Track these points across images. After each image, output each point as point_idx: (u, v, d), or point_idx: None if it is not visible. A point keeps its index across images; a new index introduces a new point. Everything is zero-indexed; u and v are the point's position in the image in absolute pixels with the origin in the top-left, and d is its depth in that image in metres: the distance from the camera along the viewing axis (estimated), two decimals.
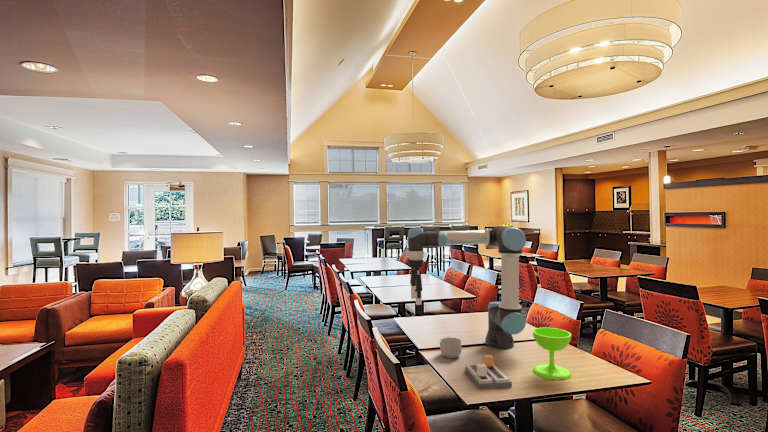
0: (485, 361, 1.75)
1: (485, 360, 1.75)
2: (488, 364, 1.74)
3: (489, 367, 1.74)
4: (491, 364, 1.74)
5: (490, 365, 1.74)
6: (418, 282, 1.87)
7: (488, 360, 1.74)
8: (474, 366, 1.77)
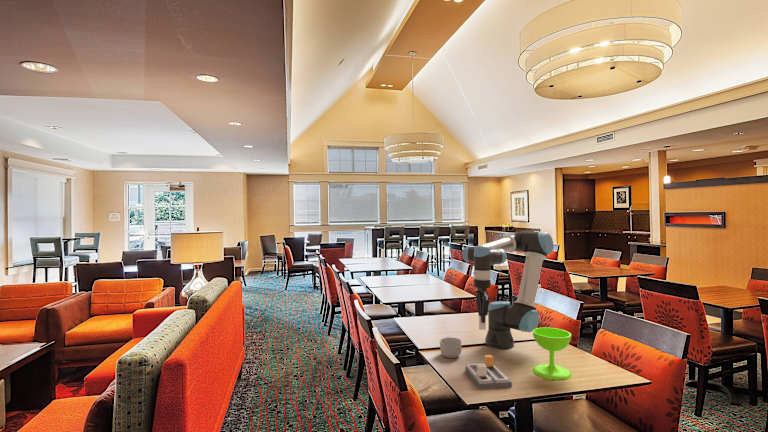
0: (485, 361, 1.75)
1: (485, 360, 1.75)
2: (488, 364, 1.74)
3: (489, 367, 1.74)
4: (491, 364, 1.74)
5: (490, 365, 1.74)
6: (485, 308, 1.79)
7: (488, 360, 1.74)
8: (474, 366, 1.77)
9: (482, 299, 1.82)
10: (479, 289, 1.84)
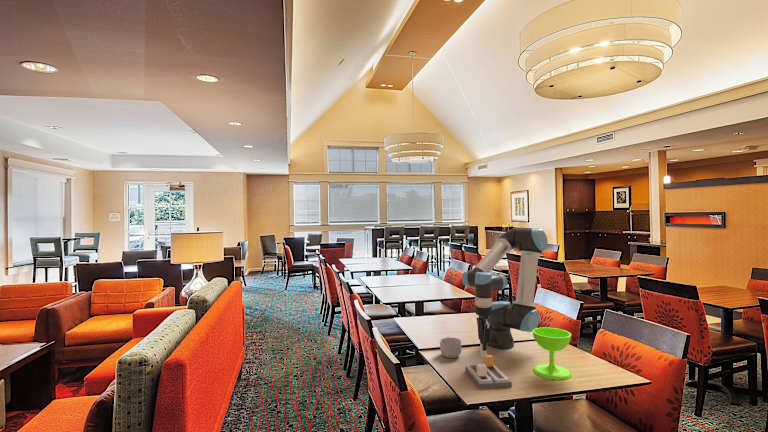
0: (485, 361, 1.75)
1: (485, 360, 1.75)
2: (488, 364, 1.74)
3: (489, 367, 1.74)
4: (491, 364, 1.74)
5: (490, 365, 1.74)
6: (486, 336, 1.77)
7: (488, 360, 1.74)
8: (474, 366, 1.77)
9: (483, 326, 1.80)
10: (480, 316, 1.82)
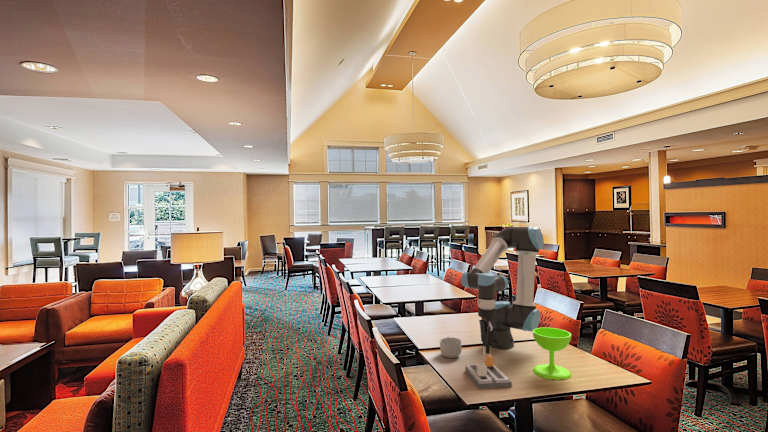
0: (485, 361, 1.75)
1: (485, 360, 1.75)
2: (488, 364, 1.74)
3: (489, 367, 1.74)
4: (491, 364, 1.74)
5: (490, 365, 1.74)
6: (489, 338, 1.73)
7: (488, 360, 1.74)
8: (474, 366, 1.77)
9: (486, 329, 1.76)
10: (483, 318, 1.78)
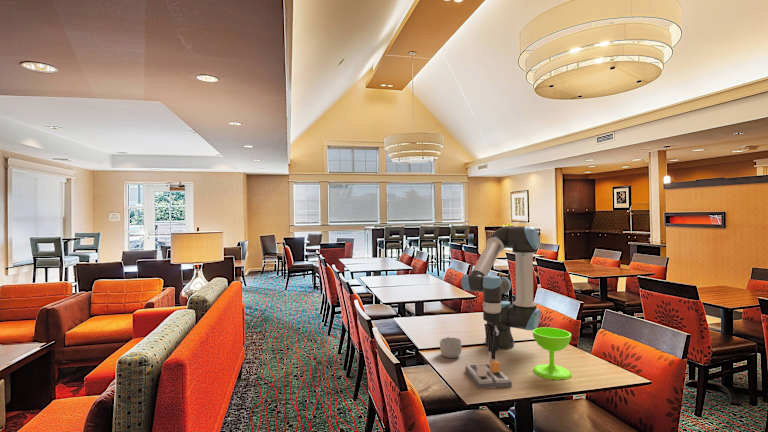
0: (491, 367, 1.68)
1: (491, 365, 1.69)
2: (494, 370, 1.67)
3: (495, 373, 1.67)
4: (497, 370, 1.67)
5: (496, 371, 1.67)
6: (495, 343, 1.66)
7: (494, 366, 1.67)
8: (474, 366, 1.77)
9: (492, 333, 1.70)
10: (489, 322, 1.71)
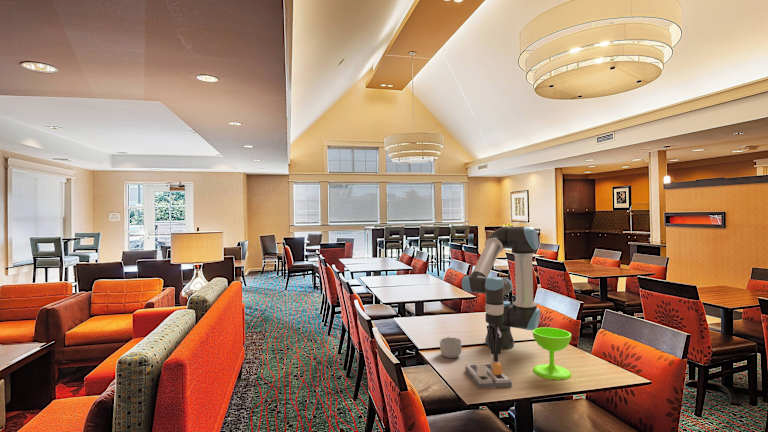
0: (493, 369, 1.66)
1: (493, 367, 1.66)
2: (496, 372, 1.65)
3: (497, 375, 1.65)
4: (499, 372, 1.65)
5: (498, 373, 1.65)
6: (498, 346, 1.64)
7: (496, 368, 1.65)
8: (474, 366, 1.77)
9: None
10: (491, 324, 1.69)
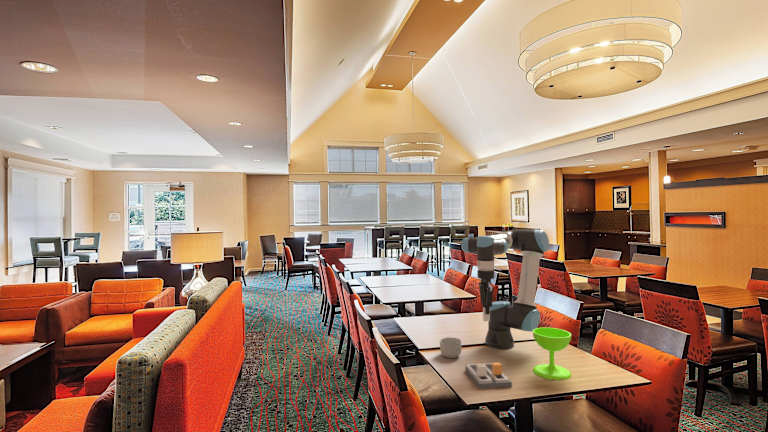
0: (493, 369, 1.66)
1: (493, 367, 1.66)
2: (496, 372, 1.65)
3: (497, 375, 1.65)
4: (499, 372, 1.65)
5: (498, 373, 1.65)
6: (489, 299, 1.75)
7: (496, 368, 1.65)
8: (474, 366, 1.77)
9: (486, 290, 1.78)
10: (483, 280, 1.80)
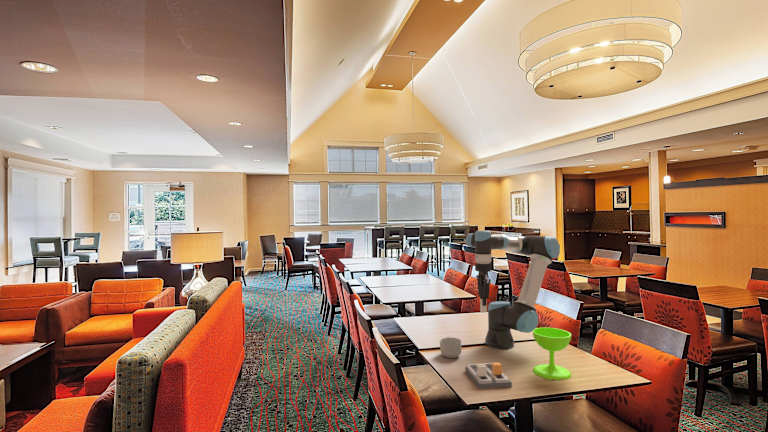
0: (493, 369, 1.66)
1: (493, 367, 1.66)
2: (496, 372, 1.65)
3: (497, 375, 1.65)
4: (499, 372, 1.65)
5: (498, 373, 1.65)
6: (486, 291, 1.83)
7: (496, 368, 1.65)
8: (474, 366, 1.77)
9: (483, 282, 1.86)
10: (480, 273, 1.88)
